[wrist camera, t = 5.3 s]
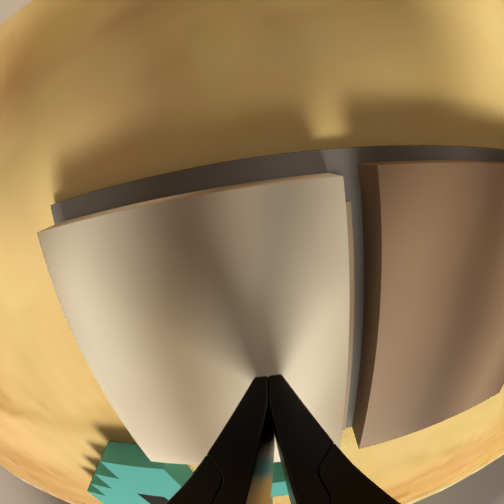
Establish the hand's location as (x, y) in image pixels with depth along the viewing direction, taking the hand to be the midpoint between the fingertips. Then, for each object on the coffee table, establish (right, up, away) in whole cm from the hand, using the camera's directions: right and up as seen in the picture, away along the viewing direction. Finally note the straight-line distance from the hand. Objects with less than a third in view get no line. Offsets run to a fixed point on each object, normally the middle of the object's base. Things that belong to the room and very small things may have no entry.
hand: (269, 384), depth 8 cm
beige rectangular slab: (-2, 0, +2) cm, 3 cm away
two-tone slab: (+3, +1, +2) cm, 4 cm away
